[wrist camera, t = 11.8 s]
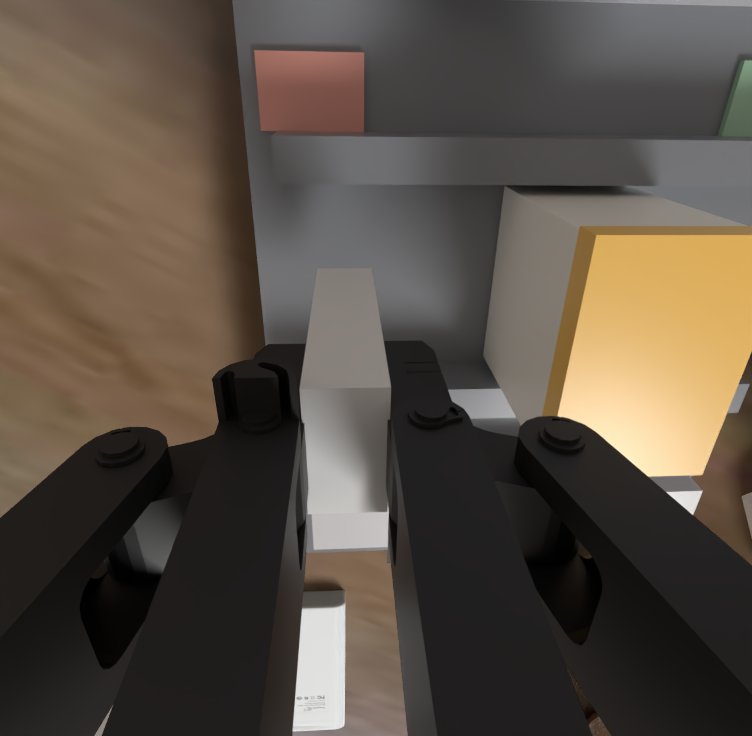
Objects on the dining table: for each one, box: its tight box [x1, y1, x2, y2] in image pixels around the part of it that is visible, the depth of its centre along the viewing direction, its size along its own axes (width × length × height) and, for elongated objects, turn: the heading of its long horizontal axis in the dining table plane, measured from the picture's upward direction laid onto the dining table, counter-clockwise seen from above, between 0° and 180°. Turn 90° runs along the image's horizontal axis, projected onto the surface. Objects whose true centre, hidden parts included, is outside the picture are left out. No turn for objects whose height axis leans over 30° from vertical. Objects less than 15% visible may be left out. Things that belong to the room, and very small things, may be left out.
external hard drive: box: [293, 590, 345, 731], centre depth 32 cm, size 2×8×12 cm
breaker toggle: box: [483, 186, 752, 477], centre depth 15 cm, size 4×6×7 cm
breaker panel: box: [232, 0, 752, 553], centre depth 18 cm, size 18×26×5 cm
